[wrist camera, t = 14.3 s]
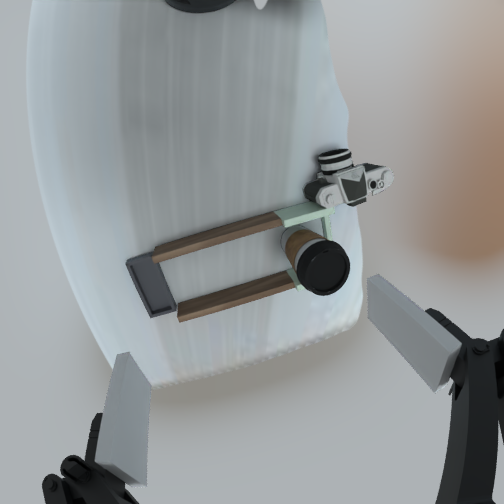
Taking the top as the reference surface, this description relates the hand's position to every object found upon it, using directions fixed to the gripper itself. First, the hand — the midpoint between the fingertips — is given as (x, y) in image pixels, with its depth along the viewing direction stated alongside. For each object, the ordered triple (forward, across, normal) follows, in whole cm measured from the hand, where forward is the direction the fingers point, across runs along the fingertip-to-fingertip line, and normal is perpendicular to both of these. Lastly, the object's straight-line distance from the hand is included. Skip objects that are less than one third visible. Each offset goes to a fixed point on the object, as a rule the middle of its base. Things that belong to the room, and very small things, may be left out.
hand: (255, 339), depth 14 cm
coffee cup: (+37, +13, -11) cm, 41 cm away
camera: (+37, +24, 0) cm, 44 cm away
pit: (+37, -15, -12) cm, 41 cm away
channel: (+37, -1, -12) cm, 38 cm away
